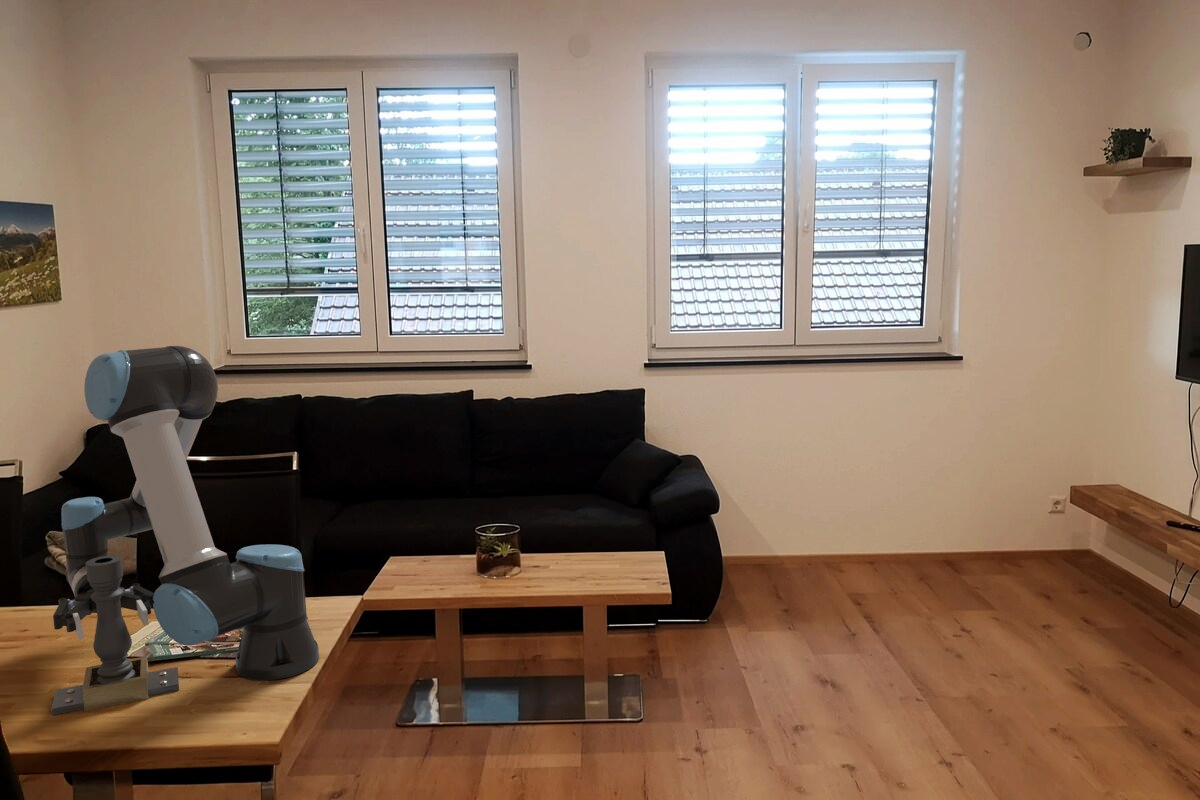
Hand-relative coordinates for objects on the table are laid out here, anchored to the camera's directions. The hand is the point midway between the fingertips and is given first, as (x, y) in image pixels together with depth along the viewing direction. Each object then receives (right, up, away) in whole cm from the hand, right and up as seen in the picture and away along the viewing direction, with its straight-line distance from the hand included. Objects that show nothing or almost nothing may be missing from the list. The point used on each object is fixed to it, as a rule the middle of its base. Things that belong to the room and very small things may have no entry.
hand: (113, 624), depth 161 cm
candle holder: (-2, -14, +6) cm, 15 cm away
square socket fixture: (-2, -14, +6) cm, 15 cm away
